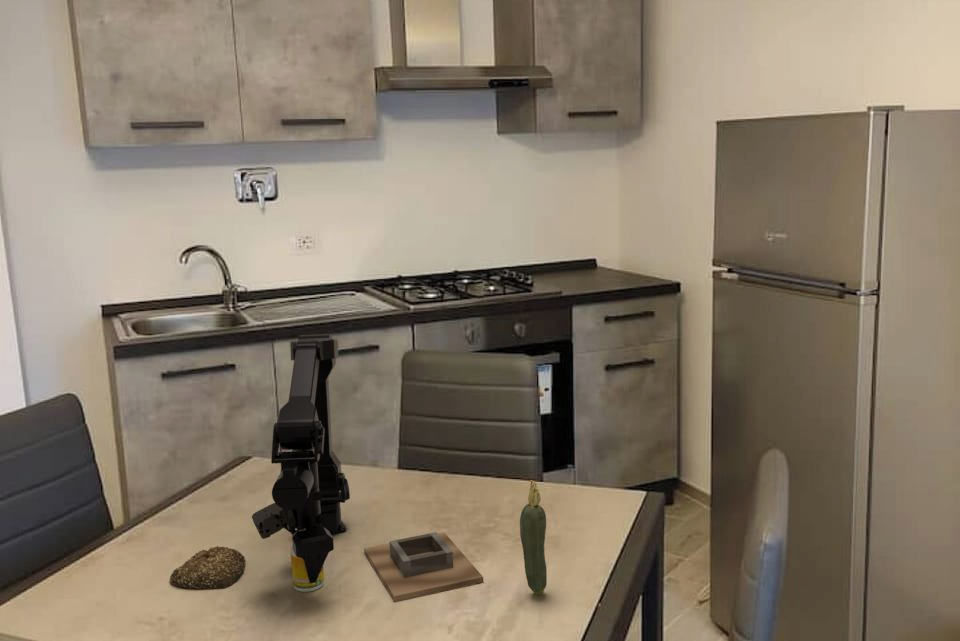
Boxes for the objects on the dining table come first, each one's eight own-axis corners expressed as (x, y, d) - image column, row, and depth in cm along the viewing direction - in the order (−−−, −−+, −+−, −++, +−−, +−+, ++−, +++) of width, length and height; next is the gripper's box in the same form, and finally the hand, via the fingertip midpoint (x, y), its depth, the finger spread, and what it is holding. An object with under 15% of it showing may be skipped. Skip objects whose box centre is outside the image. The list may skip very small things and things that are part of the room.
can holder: (364, 553, 164) (363, 533, 163) (444, 537, 170) (443, 517, 169) (394, 601, 146) (393, 579, 145) (483, 582, 151) (482, 560, 151)
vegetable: (545, 603, 144) (543, 488, 140) (519, 601, 145) (517, 487, 141) (549, 590, 148) (547, 478, 144) (523, 588, 149) (521, 477, 145)
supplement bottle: (298, 577, 155) (294, 526, 153) (327, 578, 155) (324, 527, 153) (289, 592, 150) (285, 540, 148) (319, 593, 149) (316, 540, 148)
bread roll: (227, 594, 151) (224, 567, 150) (161, 589, 153) (158, 563, 152) (258, 560, 163) (256, 535, 162) (197, 556, 165) (195, 532, 164)
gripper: (246, 476, 155) (253, 558, 157) (261, 515, 138) (269, 606, 140) (309, 466, 159) (314, 546, 162) (331, 502, 142) (337, 591, 144)
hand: (307, 571), depth 152 cm, fingers open, 8 cm apart
